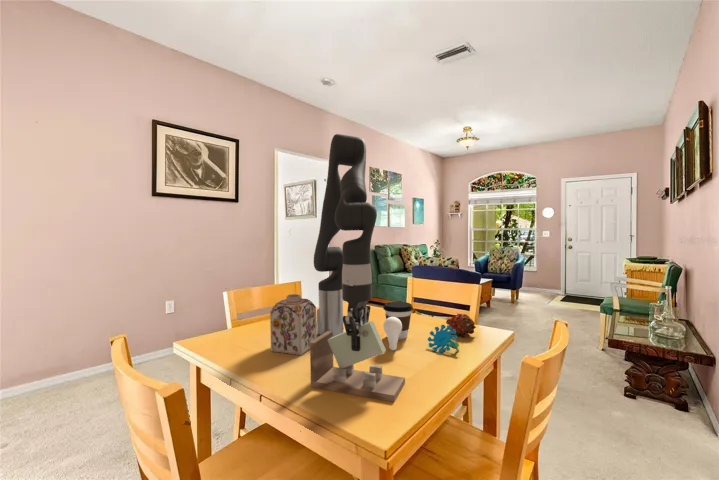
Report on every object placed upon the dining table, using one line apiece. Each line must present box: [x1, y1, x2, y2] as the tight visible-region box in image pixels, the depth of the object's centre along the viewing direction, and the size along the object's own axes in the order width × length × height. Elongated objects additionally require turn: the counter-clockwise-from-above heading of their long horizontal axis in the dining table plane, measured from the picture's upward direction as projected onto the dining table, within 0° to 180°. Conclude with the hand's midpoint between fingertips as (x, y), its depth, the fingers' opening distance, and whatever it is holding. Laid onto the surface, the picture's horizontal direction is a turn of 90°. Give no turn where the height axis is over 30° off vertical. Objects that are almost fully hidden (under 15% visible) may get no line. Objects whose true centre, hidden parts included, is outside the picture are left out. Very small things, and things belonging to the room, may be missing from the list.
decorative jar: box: [269, 293, 318, 356], centre depth 115 cm, size 12×12×18 cm
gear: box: [427, 324, 460, 354], centre depth 112 cm, size 11×6×10 cm
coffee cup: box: [383, 301, 414, 340], centre depth 125 cm, size 11×11×12 cm
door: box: [328, 320, 387, 368], centre depth 86 cm, size 13×4×8 cm, turn 67°
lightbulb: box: [383, 317, 402, 351], centre depth 112 cm, size 6×6×11 cm
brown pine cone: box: [445, 313, 477, 337], centre depth 127 cm, size 8×8×12 cm
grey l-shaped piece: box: [309, 331, 406, 403], centre depth 87 cm, size 22×10×12 cm, turn 68°
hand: (358, 348), depth 87 cm, fingers closed on door, 2 cm apart
